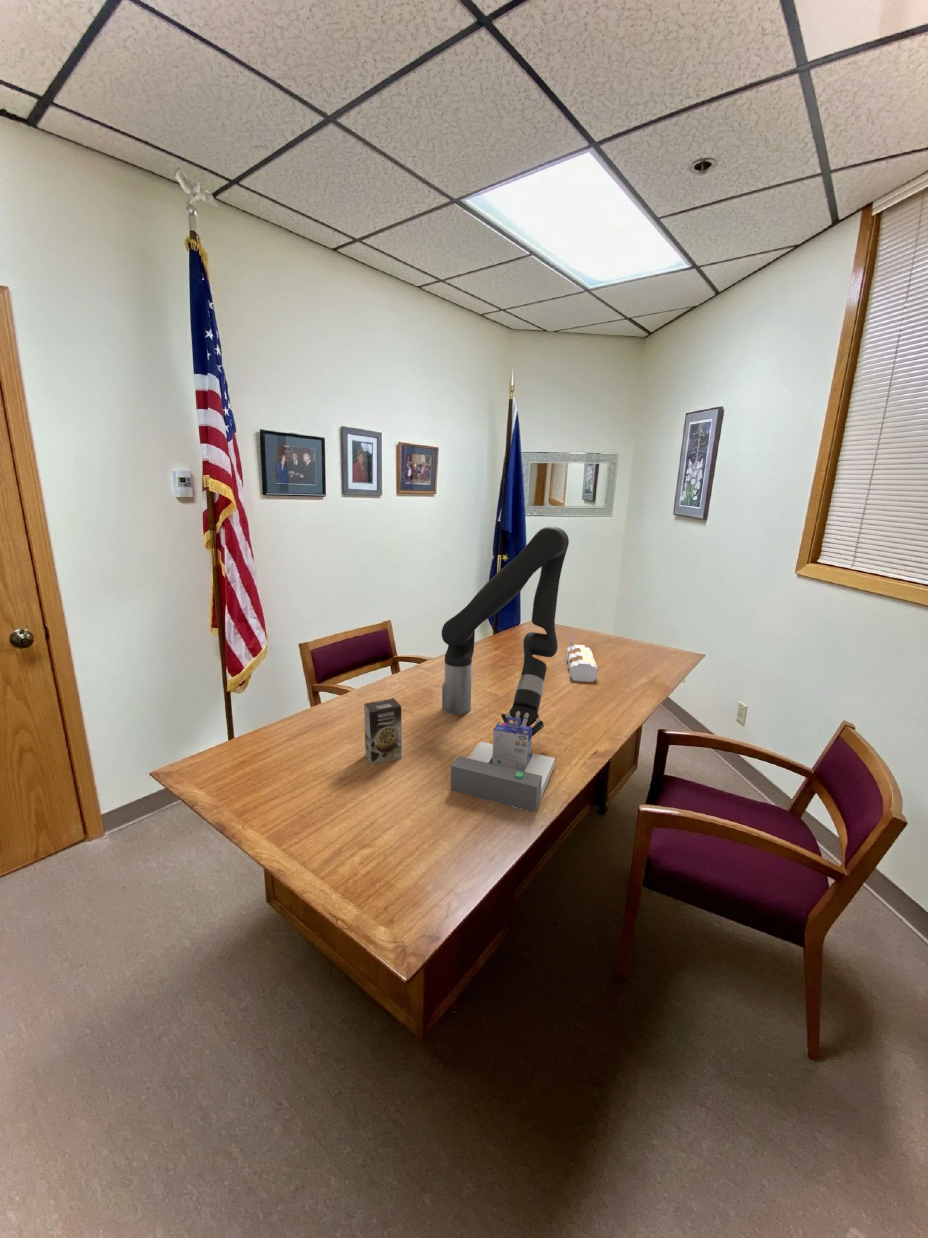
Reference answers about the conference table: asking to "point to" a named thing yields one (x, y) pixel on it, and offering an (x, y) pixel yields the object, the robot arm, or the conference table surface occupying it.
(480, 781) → the charging dock
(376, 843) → the conference table surface
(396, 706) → the dessert mix box
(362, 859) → the conference table surface
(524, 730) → the ink cartridge box
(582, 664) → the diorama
